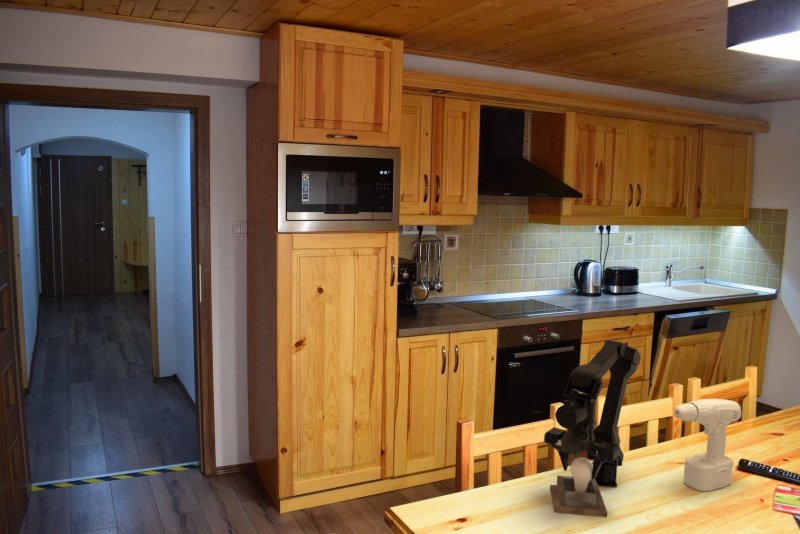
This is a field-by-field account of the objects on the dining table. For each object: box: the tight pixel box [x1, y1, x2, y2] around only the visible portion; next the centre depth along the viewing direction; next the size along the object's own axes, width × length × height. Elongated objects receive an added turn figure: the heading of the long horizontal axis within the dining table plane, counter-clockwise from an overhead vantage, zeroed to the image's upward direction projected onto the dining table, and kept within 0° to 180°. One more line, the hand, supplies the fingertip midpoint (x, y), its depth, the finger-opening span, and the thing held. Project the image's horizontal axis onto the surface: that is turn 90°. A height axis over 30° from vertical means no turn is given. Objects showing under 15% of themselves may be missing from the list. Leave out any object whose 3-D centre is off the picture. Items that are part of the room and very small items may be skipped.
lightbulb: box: [569, 456, 593, 493], centre depth 169 cm, size 6×6×11 cm
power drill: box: [673, 398, 742, 492], centre depth 180 cm, size 8×24×25 cm, turn 116°
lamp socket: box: [549, 474, 608, 518], centre depth 169 cm, size 13×13×5 cm
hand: (579, 474), depth 169 cm, fingers open, 7 cm apart
